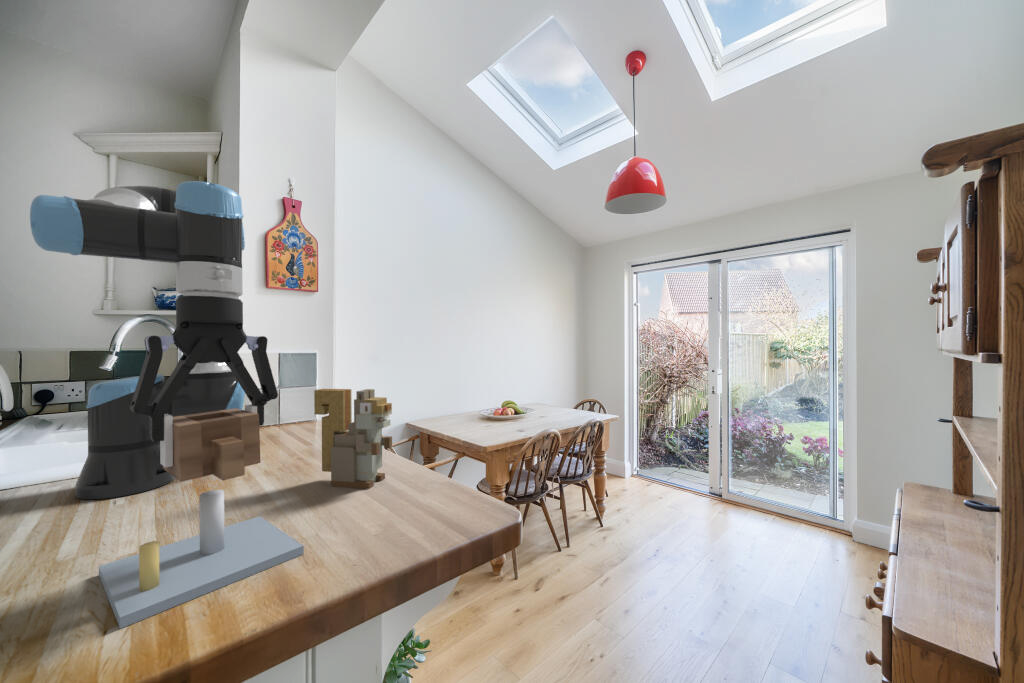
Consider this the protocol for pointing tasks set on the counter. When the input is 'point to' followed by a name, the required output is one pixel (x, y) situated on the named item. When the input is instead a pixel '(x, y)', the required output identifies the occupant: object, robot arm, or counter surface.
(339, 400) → the toy
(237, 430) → the tabbed square frame
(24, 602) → the counter surface
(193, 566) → the post board
